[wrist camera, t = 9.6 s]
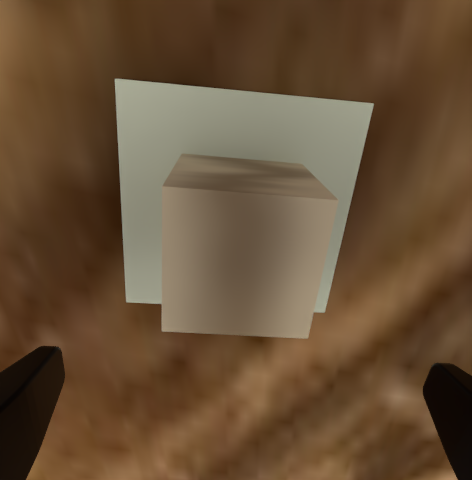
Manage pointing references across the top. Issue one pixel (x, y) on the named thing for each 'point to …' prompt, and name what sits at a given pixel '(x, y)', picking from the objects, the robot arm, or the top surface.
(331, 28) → the top surface
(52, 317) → the top surface
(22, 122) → the top surface
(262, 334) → the birch cube
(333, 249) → the sage board
